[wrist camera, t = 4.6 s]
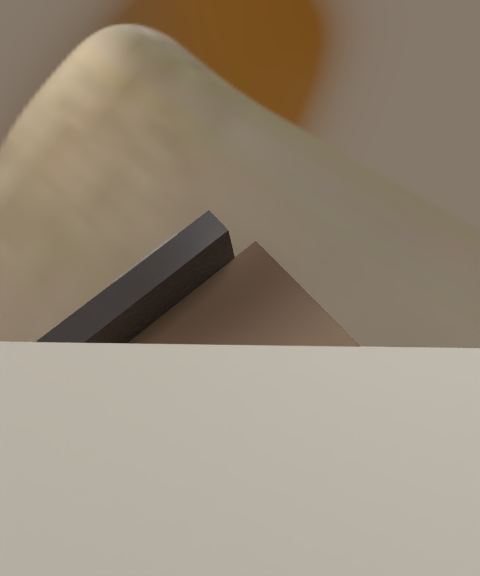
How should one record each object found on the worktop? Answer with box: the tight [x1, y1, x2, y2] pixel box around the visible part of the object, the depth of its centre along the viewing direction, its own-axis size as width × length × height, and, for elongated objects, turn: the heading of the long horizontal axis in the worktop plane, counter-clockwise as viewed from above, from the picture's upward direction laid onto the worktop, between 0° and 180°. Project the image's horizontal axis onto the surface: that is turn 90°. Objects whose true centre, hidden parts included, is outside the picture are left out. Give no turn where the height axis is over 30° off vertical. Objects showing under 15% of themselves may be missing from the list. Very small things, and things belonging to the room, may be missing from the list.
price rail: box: [33, 211, 235, 343], centre depth 14 cm, size 1×14×3 cm, turn 130°
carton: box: [0, 342, 480, 576], centre depth 7 cm, size 4×6×11 cm
